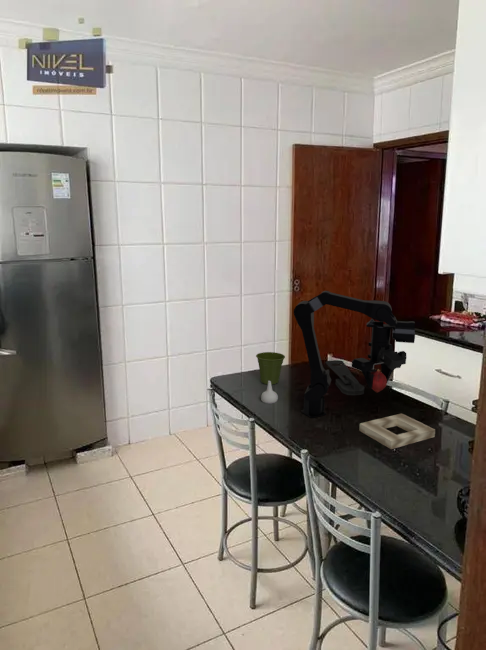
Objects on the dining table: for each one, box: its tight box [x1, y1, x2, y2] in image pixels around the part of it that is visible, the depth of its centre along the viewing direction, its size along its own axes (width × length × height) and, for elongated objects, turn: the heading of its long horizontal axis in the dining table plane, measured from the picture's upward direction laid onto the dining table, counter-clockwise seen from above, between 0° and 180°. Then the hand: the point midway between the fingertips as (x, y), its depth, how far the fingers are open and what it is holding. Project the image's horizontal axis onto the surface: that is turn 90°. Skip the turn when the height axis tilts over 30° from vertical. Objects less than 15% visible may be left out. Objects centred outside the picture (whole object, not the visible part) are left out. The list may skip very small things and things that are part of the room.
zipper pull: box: [325, 359, 365, 396], centre depth 196 cm, size 9×7×25 cm
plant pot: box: [255, 351, 286, 385], centre depth 197 cm, size 12×12×11 cm
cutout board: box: [358, 413, 436, 450], centre depth 151 cm, size 18×14×2 cm
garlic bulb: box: [260, 381, 279, 405], centre depth 178 cm, size 6×6×8 cm
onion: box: [371, 368, 388, 393], centre depth 158 cm, size 6×6×8 cm
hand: (377, 386), depth 159 cm, fingers closed on onion, 6 cm apart
